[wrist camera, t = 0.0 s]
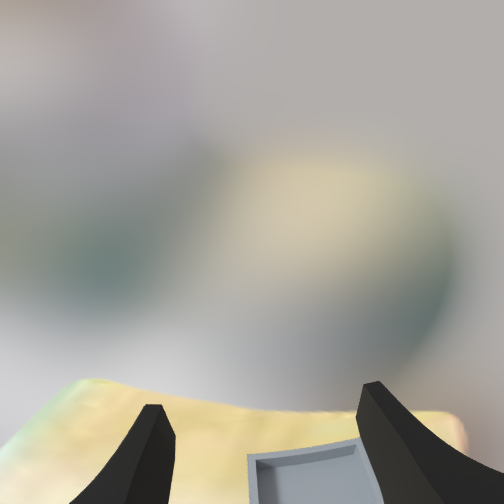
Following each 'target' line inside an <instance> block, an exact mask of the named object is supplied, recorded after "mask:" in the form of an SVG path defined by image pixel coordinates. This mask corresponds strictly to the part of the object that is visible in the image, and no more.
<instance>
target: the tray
mask: <svg viewBox="0 0 504 504" xmlns="http://www.w3.org/2000/svg"><path fill="white" fill-rule="evenodd" d="M247 461H248V480H249V498H250V504H384V501H383V497H382V493H381V490H380V487H379V484H378V482H377V479H376V476H375V474H374V471H373V469H372V466H371V464H370V461H369V459H368V456H367V453H366V451H365V448H364V446H363V443H362V440H361V437H359V438H355V439H350V440H346V441H341V442H336V443H331V444H325V445H320V446H314V447H308V448H301V449H294V450H287V451H278V452H269V453H259V454H247Z"/></svg>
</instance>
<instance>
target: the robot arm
mask: <svg viewBox="0 0 504 504" xmlns="http://www.w3.org/2000/svg"><path fill="white" fill-rule="evenodd" d="M356 421H357V425H358V429H359V433H360V437H361V440H362V443H363V446H364V448H365V451H366V453H367V456H368V459H369V461H370V464H371V466H372V469H373V471H374V474H375V476H376V479H377V482H378V484H379V487H380V490H381V493H382V497H383V501H384V504H504V473H501V472H499V471H496V470H494V469H491V468H489V467H487V466H485V465H483V464H481V463H479V462H477V461H475V460H473V459H471V458H469V457H467V456H465V455H464V454H462V453H461V452H459V451H457V450H456V449H454V448H453V447H451V446H450V445H448V444H447V443H446V442H444V441H443V440H442V439H440V438H439V437H438V436H436V435H435V434H434V433H433V432H431V431H430V430H429V429H428V428H427V427H425V426H424V425H423V424H422V423H421V422H420V421H419V420H418V419H417V418H416V417H414V416H413V415H412V414H411V413H410V412H409V411H408V410H407V409H406V408H405V407H404V406H403V405H402V404H401V403H400V402H399V401H398V400H397V399H396V398H395V397H394V396H393V395H392V394H391V393H390V392H389V391H388V389H387V388H386V387H385V386H384V385H383V384H382V383H381V382H380V381H376V382H372V383H367V384H364V385H363V389H362V394H361V398H360V402H359V406H358V410H357V414H356ZM175 440H176V435H175V433H174V431H173V429H172V427H171V425H170V422H169V420H168V418H167V416H166V413H165V411H164V409H163V406H162V405H158V404H146V405H145V406H144V407H143V409H142V411H141V412H140V414H139V416H138V417H137V419H136V421H135V422H134V424H133V426H132V427H131V429H130V430H129V432H128V434H127V435H126V437H125V438H124V440H123V441H122V443H121V444H120V446H119V447H118V449H117V450H116V452H115V453H114V454H113V456H112V457H111V458H110V460H109V461H108V462H107V464H106V465H105V466H104V468H103V469H102V470H101V471H100V473H99V474H98V475H97V476H96V477H95V478H94V480H93V481H92V482H91V483H90V484H89V485H88V486H87V487H86V488H85V489H84V490H83V491H82V492H81V493H80V494H79V495H78V496H77V497H76V498H75V499H74V500H73V501H71V502H70V503H69V504H168V502H169V495H170V489H171V482H172V476H173V469H174V462H175Z"/></svg>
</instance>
